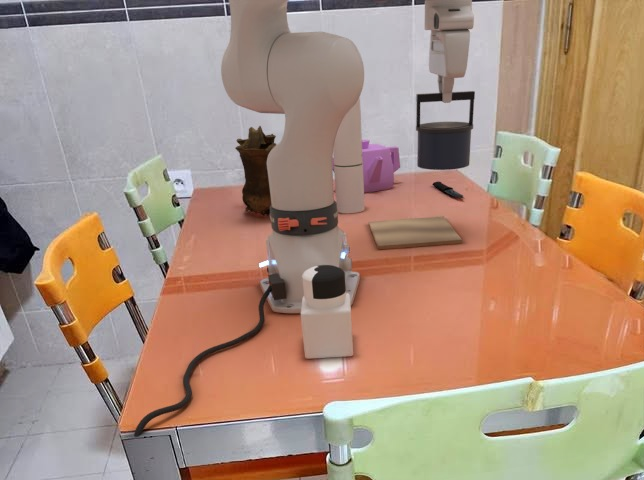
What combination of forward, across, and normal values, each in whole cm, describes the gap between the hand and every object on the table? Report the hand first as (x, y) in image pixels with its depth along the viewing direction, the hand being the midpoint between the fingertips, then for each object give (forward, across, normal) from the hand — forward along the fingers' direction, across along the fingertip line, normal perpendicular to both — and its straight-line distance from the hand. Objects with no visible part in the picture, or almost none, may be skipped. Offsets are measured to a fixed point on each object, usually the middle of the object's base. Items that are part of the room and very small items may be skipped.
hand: (445, 101), depth 131 cm
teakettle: (+25, -50, -12) cm, 58 cm away
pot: (+12, 0, 0) cm, 12 cm away
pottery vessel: (+26, -30, -40) cm, 57 cm away
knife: (+25, -36, +9) cm, 45 cm away
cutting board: (+26, 0, -6) cm, 26 cm away
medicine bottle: (+27, +58, -28) cm, 69 cm away
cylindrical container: (+26, -26, -18) cm, 41 cm away
